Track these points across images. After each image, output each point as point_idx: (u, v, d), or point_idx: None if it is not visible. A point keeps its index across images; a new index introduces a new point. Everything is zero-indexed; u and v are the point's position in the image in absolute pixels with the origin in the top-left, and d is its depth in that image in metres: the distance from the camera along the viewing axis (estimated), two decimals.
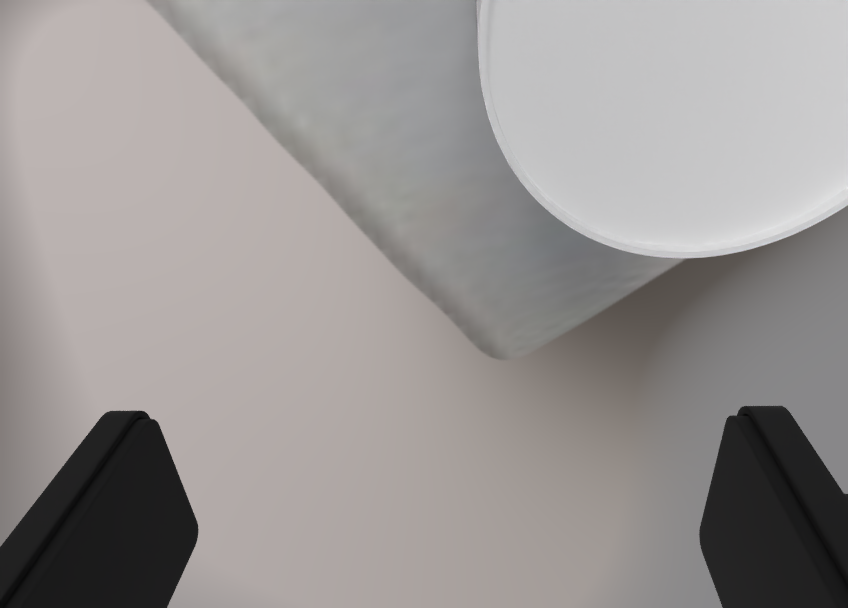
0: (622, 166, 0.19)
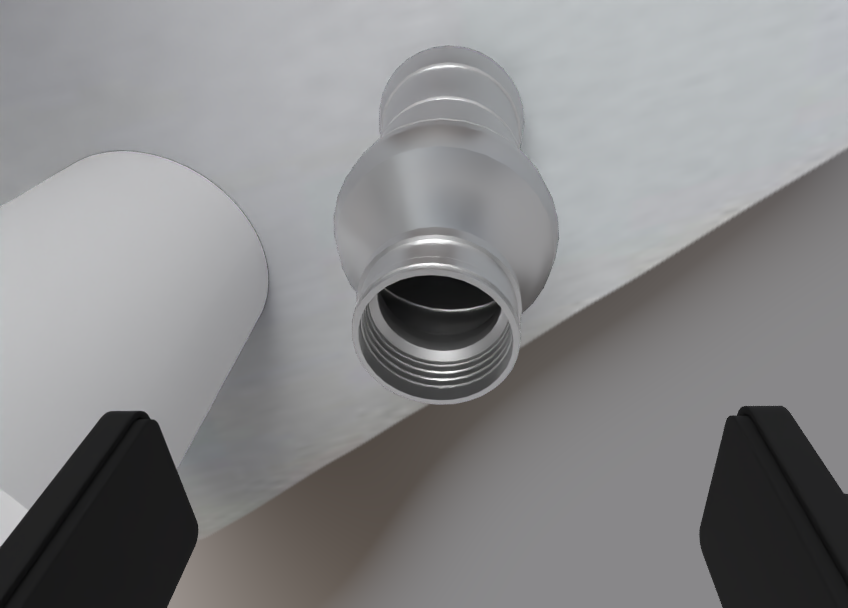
0: None
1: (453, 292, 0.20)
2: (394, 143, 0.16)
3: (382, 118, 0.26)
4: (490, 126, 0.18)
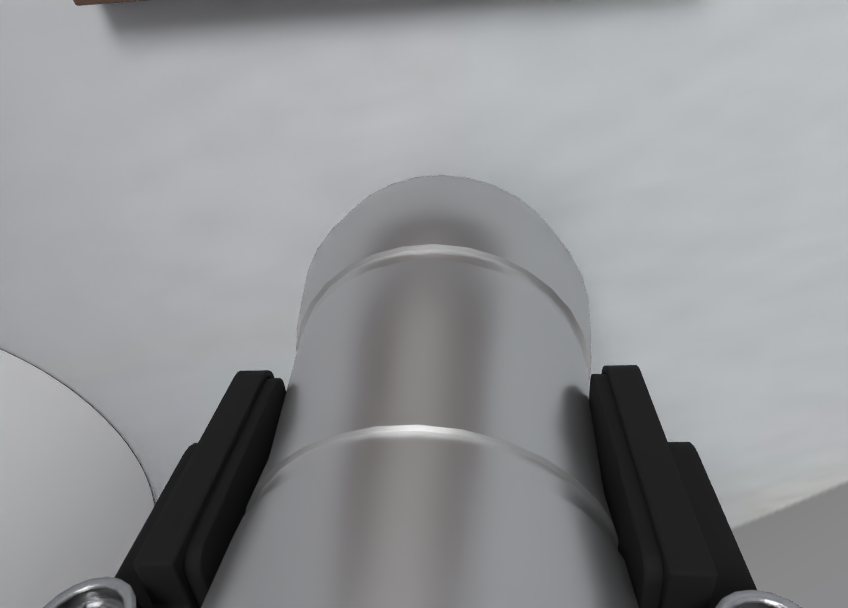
0: None
1: None
2: None
3: (298, 341, 0.12)
4: None
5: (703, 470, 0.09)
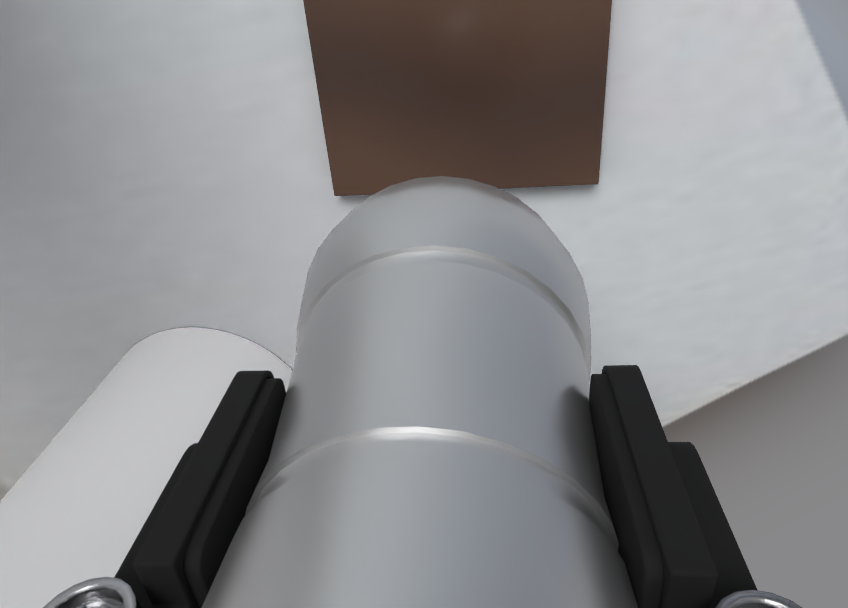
0: None
1: None
2: None
3: (298, 342, 0.12)
4: None
5: (703, 470, 0.09)
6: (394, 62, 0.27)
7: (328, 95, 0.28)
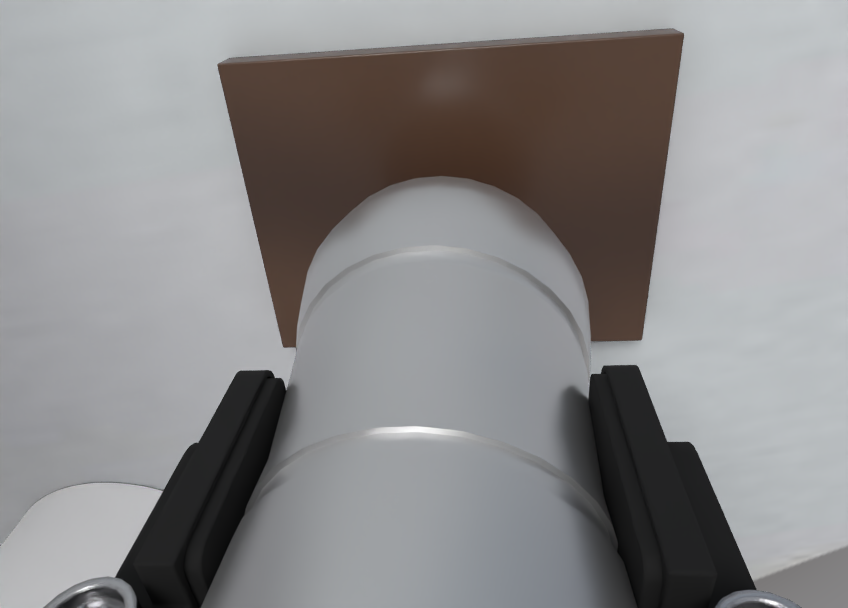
0: None
1: None
2: None
3: (298, 341, 0.12)
4: None
5: (703, 470, 0.09)
6: (360, 186, 0.19)
7: (268, 227, 0.20)
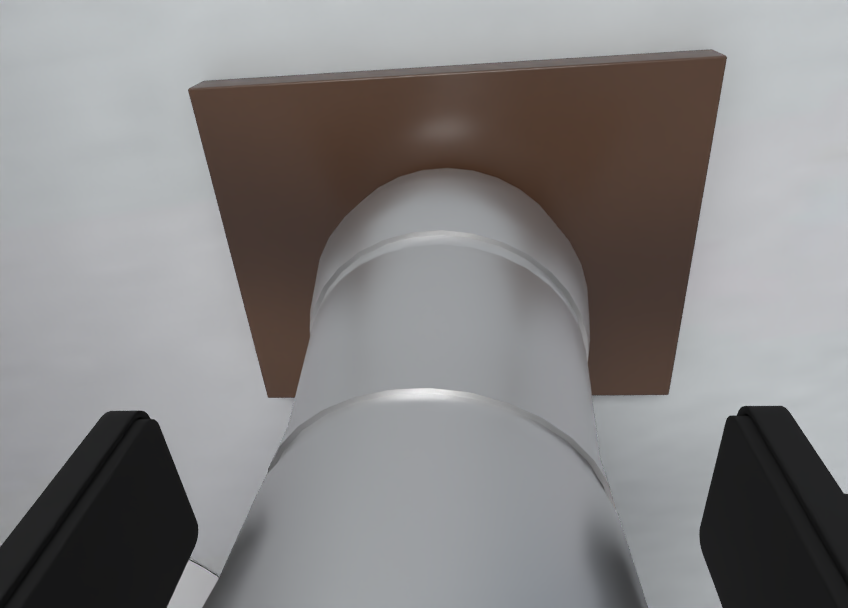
0: None
1: None
2: None
3: (311, 323, 0.13)
4: None
5: None
6: None
7: (249, 268, 0.18)
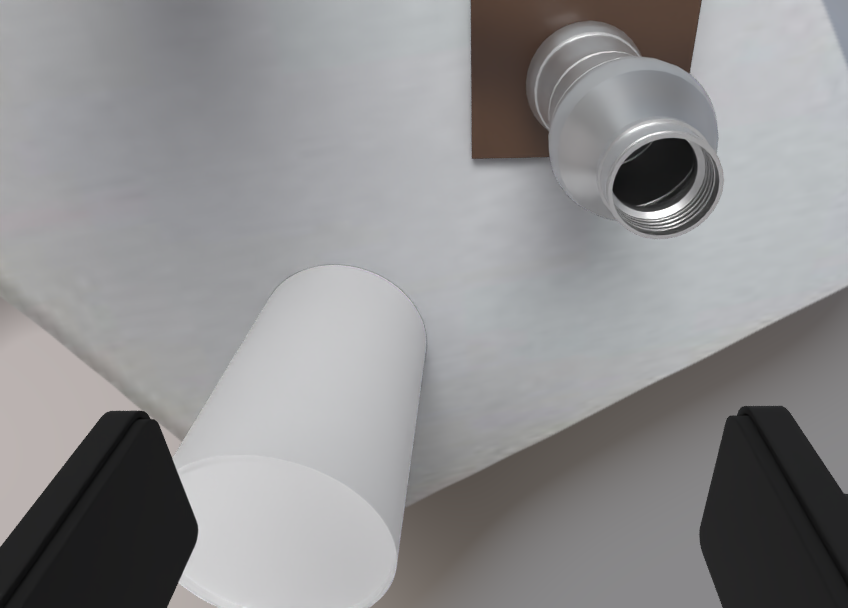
0: (243, 583, 0.35)
1: (617, 197, 0.27)
2: (611, 69, 0.22)
3: (537, 76, 0.33)
4: None
5: None
6: None
7: (479, 81, 0.37)
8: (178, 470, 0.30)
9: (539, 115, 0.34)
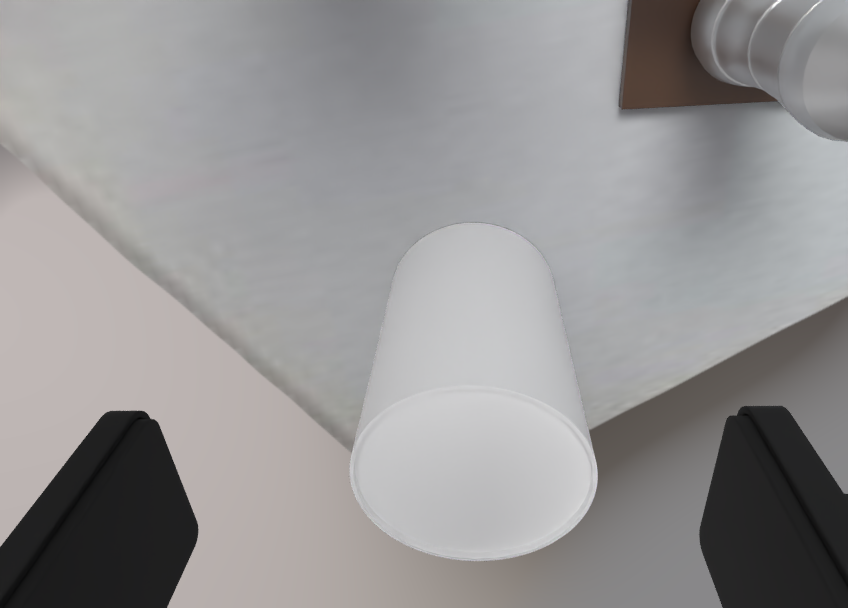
0: (433, 520, 0.36)
1: None
2: None
3: (716, 18, 0.34)
4: None
5: None
6: (692, 4, 0.37)
7: (636, 30, 0.38)
8: (397, 404, 0.31)
9: (713, 58, 0.35)
